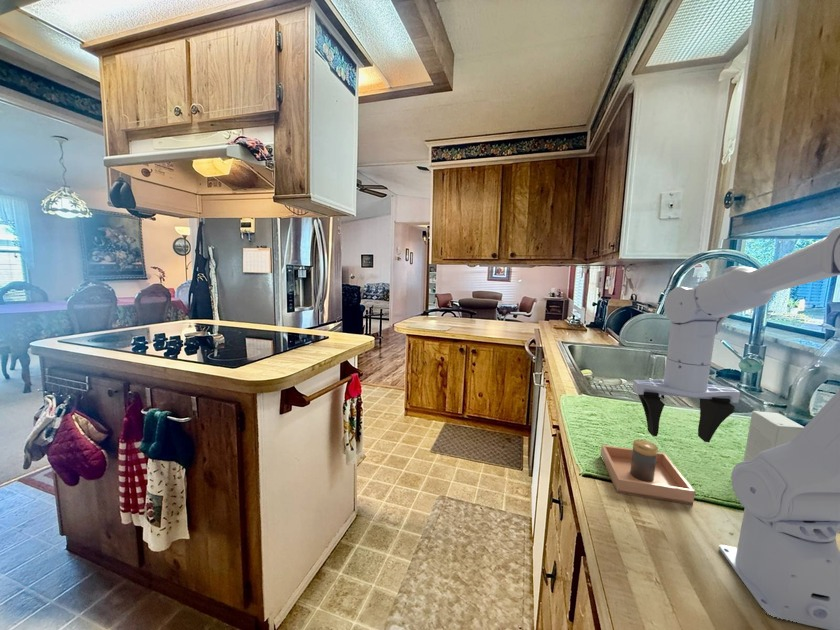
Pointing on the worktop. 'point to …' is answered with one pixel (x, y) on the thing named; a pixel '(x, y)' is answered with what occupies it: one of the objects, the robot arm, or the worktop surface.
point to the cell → (643, 460)
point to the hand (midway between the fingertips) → (677, 436)
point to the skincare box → (769, 432)
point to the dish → (662, 487)
